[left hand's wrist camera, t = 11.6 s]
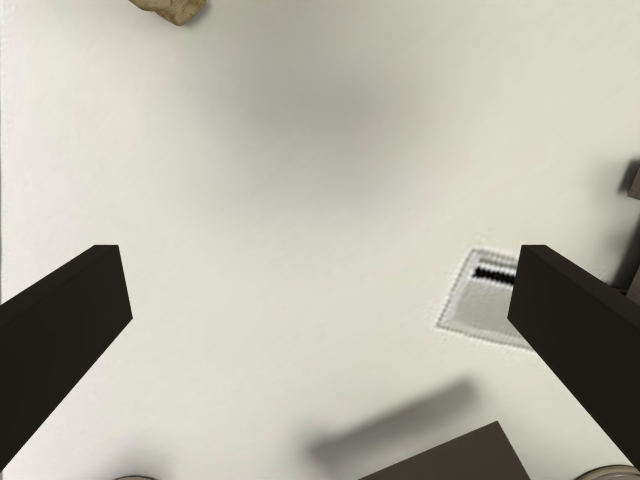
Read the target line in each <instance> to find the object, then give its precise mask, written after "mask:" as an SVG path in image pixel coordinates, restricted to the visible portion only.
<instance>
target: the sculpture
mask: <svg viewBox="0 0 640 480" xmlns="http://www.w3.org/2000/svg"><path fill="white" fill-rule="evenodd" d="M129 1H130V2H132V3H133V4H135V5H136V6H137V7H139V8H140V9H142V10H145V11H155V12H156V13H157V14H158V15H160V16H161V17H163V18H164V19H166V20H167V21H169V22H171V23H173V24H175V25H177V26H182V25H184V24H185V23H186V22H187V21H189V20H190V19H191V18H192V17H193V16H194V15H195V14H196V13H197V12H198V11H199V10H200V9H201V8H202V7H203V6H204V4H205V3H206V0H129Z"/></svg>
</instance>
